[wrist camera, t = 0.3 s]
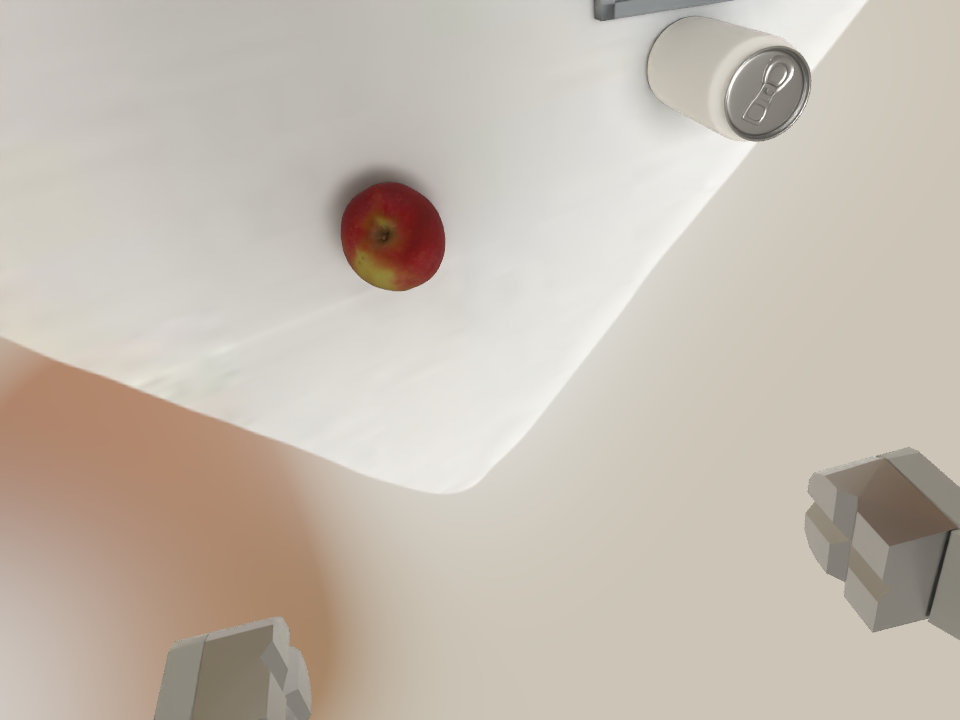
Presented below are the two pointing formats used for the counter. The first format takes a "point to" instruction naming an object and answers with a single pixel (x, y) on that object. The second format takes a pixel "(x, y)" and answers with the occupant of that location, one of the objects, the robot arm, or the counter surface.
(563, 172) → the counter surface
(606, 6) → the tray
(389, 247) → the apple
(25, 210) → the counter surface
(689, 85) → the can
